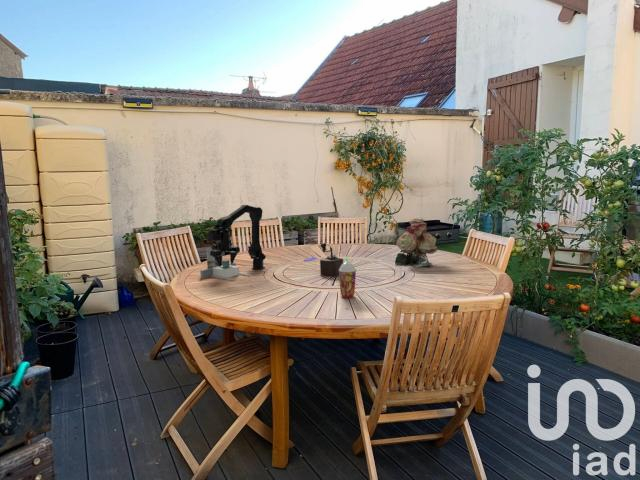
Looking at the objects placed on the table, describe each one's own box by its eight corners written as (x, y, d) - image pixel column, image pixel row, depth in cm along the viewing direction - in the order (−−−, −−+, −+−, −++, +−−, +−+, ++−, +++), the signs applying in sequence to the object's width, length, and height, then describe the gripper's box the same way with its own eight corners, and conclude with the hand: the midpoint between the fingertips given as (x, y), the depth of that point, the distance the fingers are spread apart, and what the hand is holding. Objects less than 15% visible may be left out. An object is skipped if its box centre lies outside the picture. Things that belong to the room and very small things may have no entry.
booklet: (332, 265, 290) (332, 264, 290) (303, 261, 305) (303, 260, 305) (342, 262, 300) (342, 261, 300) (313, 258, 315) (313, 257, 315)
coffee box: (216, 273, 272) (215, 247, 269) (207, 272, 274) (205, 247, 271) (223, 269, 281) (222, 245, 278) (214, 269, 282) (213, 244, 280)
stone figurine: (392, 267, 280) (393, 220, 275) (401, 258, 306) (402, 215, 302) (433, 269, 270) (434, 221, 266) (439, 260, 297) (440, 216, 292)
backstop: (233, 270, 279) (233, 262, 278) (257, 274, 267) (257, 266, 266) (200, 278, 258) (200, 270, 258) (225, 283, 246) (224, 274, 245)
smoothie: (338, 294, 219) (337, 255, 216) (354, 294, 220) (354, 254, 217) (340, 299, 211) (339, 258, 208) (357, 298, 212) (357, 258, 209)
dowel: (226, 272, 267) (226, 259, 265) (231, 273, 264) (230, 260, 263) (221, 274, 264) (221, 261, 262) (226, 274, 261) (225, 261, 260)
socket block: (226, 272, 272) (226, 264, 271) (239, 274, 265) (238, 266, 265) (213, 276, 263) (212, 267, 262) (225, 278, 257) (225, 270, 256)
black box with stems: (344, 273, 265) (344, 244, 262) (334, 277, 256) (334, 246, 253) (323, 270, 273) (322, 242, 271) (312, 274, 264) (312, 244, 262)
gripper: (227, 236, 273) (228, 261, 275) (203, 240, 258) (204, 266, 260) (239, 237, 266) (241, 263, 269) (215, 242, 252) (217, 268, 254)
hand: (226, 265), depth 263 cm, fingers open, 9 cm apart
